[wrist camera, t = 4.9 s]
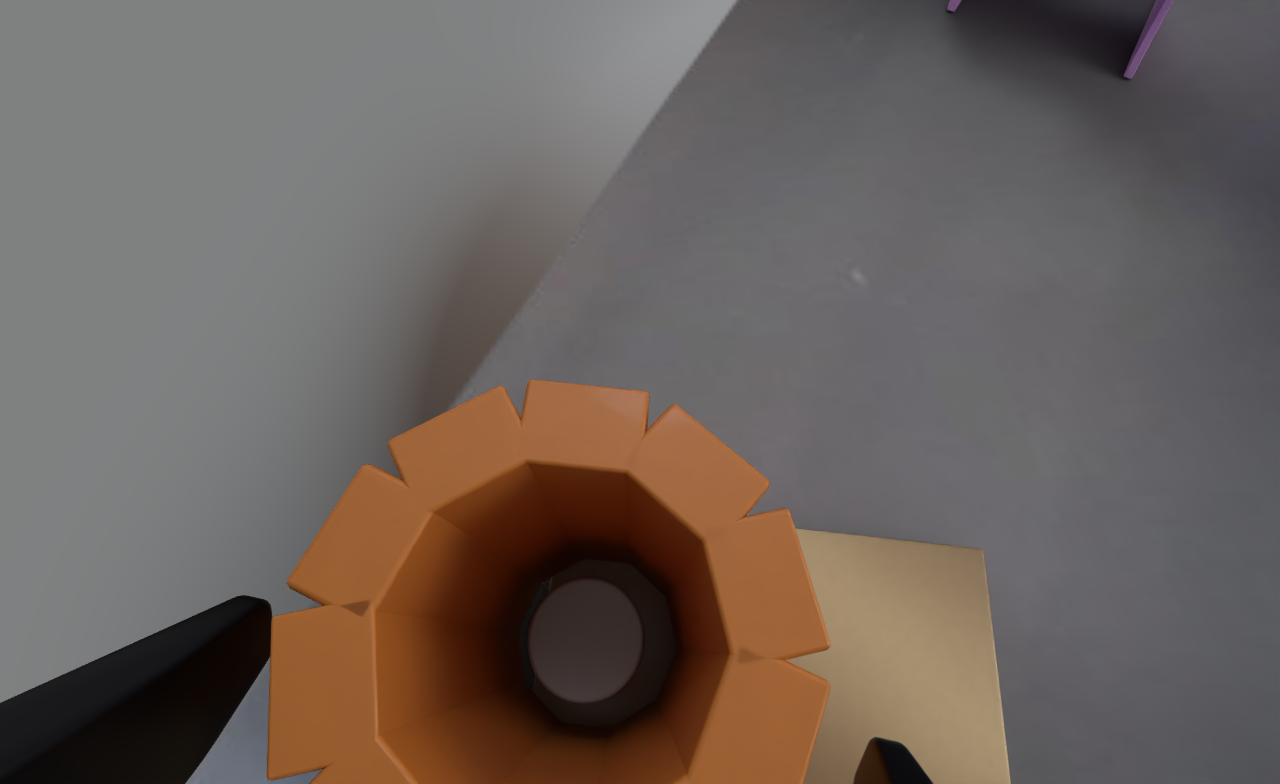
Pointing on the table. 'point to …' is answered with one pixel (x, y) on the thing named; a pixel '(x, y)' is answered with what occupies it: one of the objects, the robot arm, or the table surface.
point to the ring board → (853, 665)
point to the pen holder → (506, 585)
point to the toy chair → (1148, 33)
